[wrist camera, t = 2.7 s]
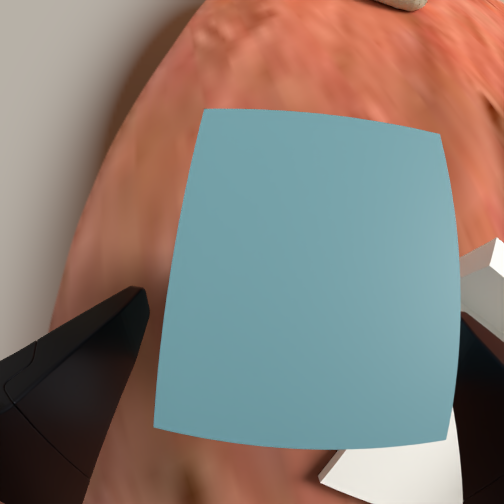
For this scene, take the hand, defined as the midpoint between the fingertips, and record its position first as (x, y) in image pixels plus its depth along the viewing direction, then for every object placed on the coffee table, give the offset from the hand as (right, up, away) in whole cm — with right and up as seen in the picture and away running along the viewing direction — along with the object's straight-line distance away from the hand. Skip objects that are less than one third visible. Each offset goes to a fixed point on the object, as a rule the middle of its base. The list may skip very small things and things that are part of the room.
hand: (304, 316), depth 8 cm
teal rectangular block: (+1, -2, +8) cm, 8 cm away
